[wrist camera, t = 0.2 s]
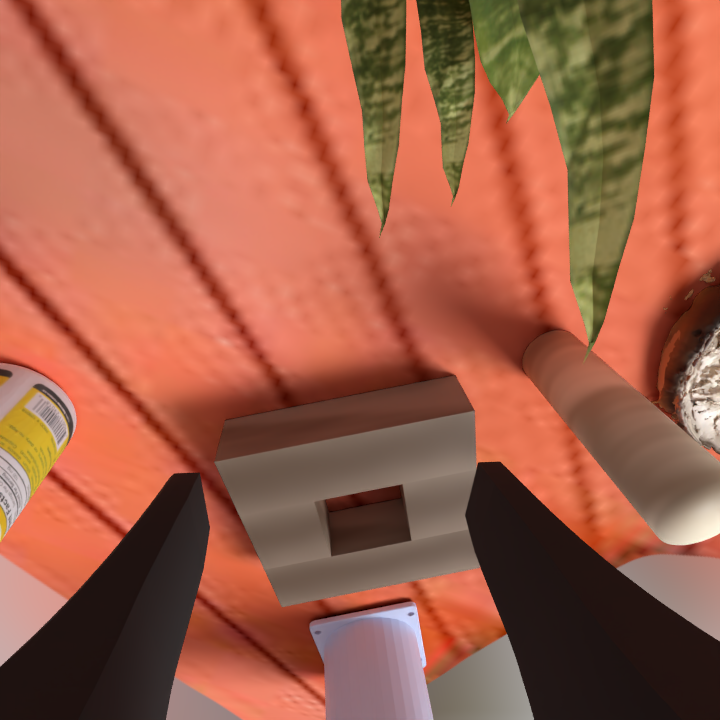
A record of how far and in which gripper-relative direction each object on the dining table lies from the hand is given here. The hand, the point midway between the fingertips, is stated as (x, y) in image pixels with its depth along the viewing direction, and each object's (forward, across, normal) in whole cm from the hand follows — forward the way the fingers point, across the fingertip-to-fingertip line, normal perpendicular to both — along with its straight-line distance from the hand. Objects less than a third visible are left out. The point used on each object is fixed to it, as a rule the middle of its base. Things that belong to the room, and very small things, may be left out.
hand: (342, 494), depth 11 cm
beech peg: (+10, -12, +2) cm, 15 cm away
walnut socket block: (+10, -2, +10) cm, 14 cm away
